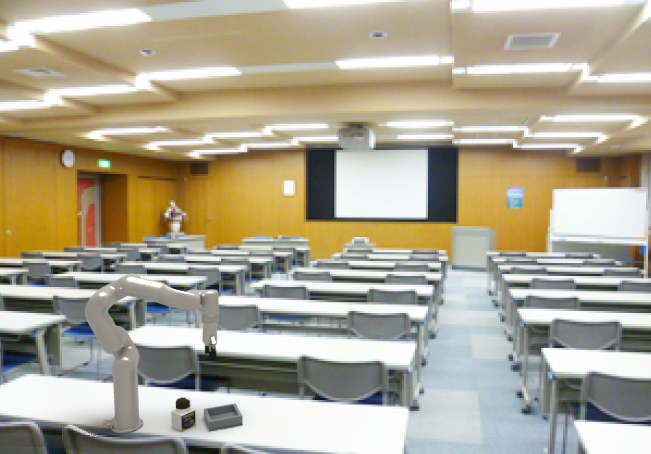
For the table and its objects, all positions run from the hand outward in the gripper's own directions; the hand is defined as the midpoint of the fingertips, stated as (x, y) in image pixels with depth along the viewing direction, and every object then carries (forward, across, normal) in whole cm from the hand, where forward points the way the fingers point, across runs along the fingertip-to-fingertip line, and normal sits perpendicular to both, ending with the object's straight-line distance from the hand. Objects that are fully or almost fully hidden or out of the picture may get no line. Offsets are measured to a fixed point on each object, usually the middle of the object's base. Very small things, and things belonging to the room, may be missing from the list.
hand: (210, 356), depth 209 cm
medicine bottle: (+27, +5, -12) cm, 30 cm away
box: (+26, +8, +4) cm, 28 cm away
